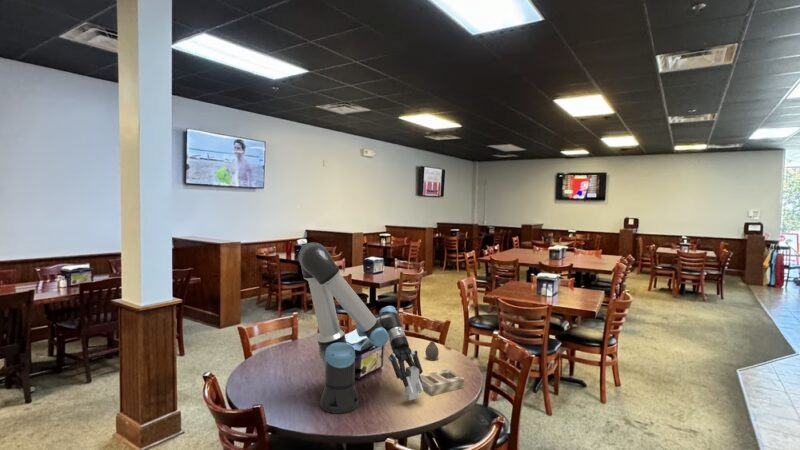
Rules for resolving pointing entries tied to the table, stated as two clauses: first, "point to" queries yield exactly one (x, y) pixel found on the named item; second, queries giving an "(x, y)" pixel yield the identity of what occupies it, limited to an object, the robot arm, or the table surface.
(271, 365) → the table surface
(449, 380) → the holder
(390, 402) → the table surface
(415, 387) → the grey rectangular block
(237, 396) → the table surface
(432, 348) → the dark grey egg
